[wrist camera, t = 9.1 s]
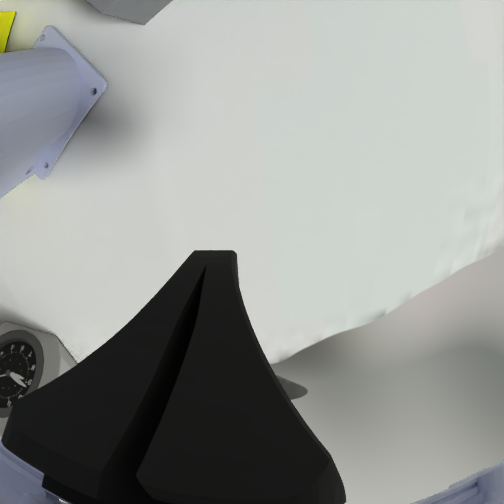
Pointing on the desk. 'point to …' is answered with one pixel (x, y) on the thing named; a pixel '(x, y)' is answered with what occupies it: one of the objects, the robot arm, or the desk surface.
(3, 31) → the yellow toy chassis
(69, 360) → the alarm clock
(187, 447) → the robot arm
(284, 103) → the desk surface
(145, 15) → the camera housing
